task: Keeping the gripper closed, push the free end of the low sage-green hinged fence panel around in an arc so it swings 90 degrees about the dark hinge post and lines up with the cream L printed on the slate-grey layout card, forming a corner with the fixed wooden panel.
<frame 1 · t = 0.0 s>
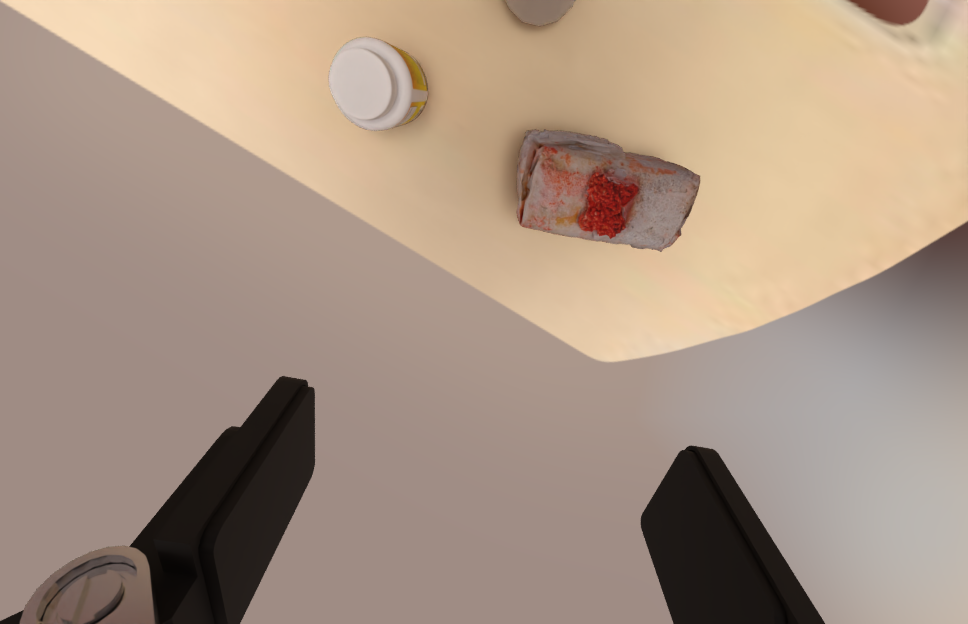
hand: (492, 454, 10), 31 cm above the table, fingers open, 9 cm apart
supplement bottle: (396, 88, 34), on the table
food item: (585, 180, 37), on the table
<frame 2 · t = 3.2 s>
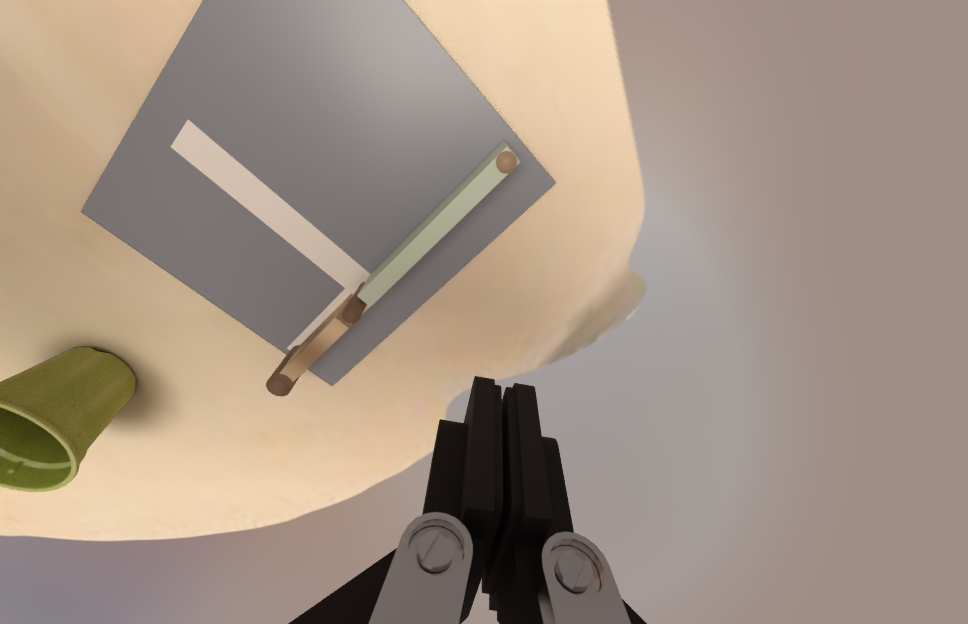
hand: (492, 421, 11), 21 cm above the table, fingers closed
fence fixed: (367, 287, 32), resting on layout card
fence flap: (434, 227, 27), point 3 cm above the table, hinge at 0.0°
plant pot: (104, 372, 36), on the table
layout card: (316, 196, 29), on the table
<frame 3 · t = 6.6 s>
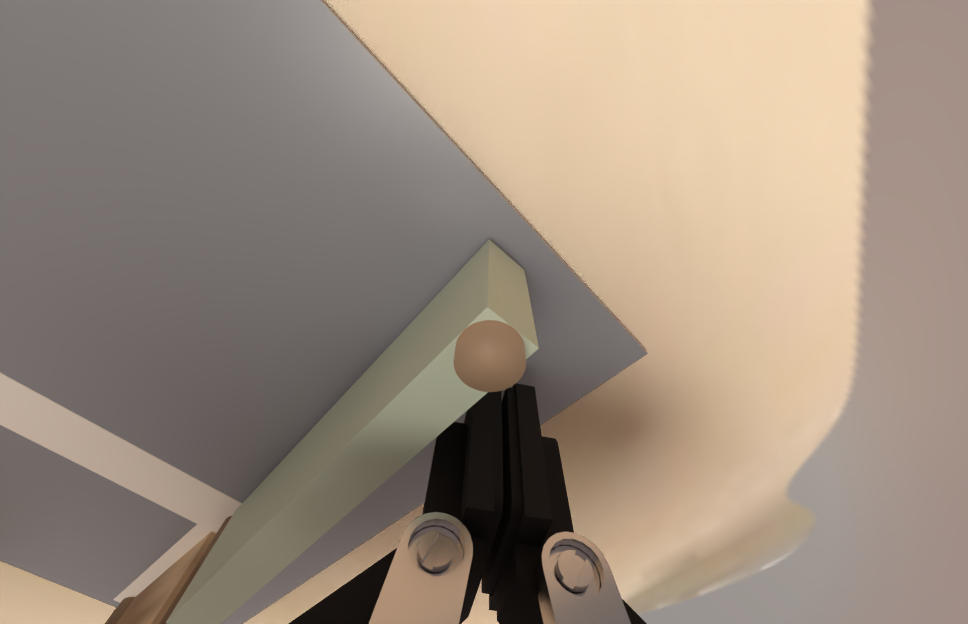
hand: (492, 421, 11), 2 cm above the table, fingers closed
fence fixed: (244, 517, 16), resting on layout card
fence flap: (329, 464, 11), point 3 cm above the table, hinge at 4.2°, touching gripper
layout card: (96, 372, 13), on the table
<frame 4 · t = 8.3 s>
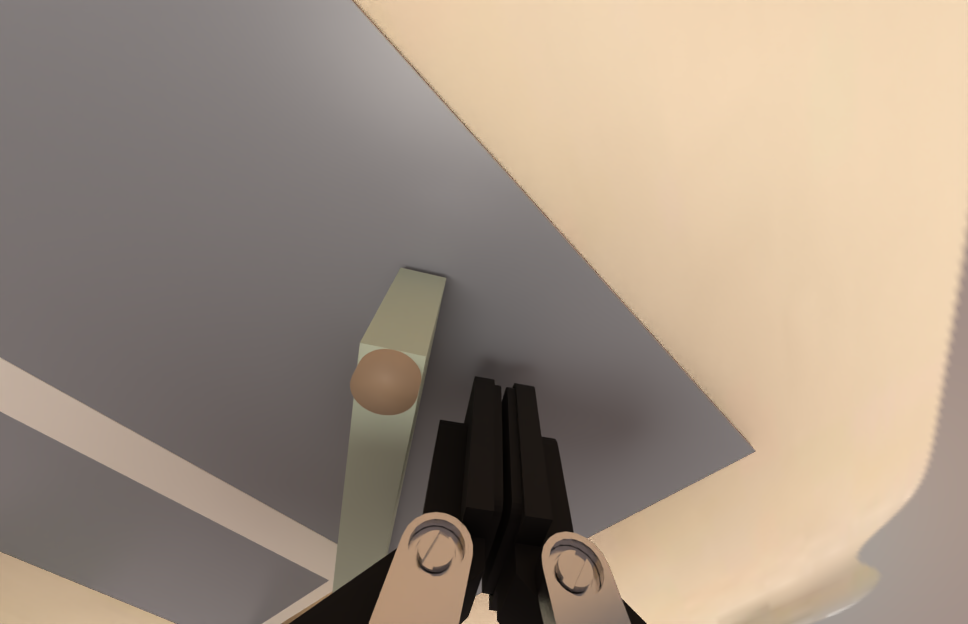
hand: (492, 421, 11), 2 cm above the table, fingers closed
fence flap: (374, 512, 12), point 3 cm above the table, hinge at 32.5°, touching gripper
layout card: (269, 460, 15), on the table
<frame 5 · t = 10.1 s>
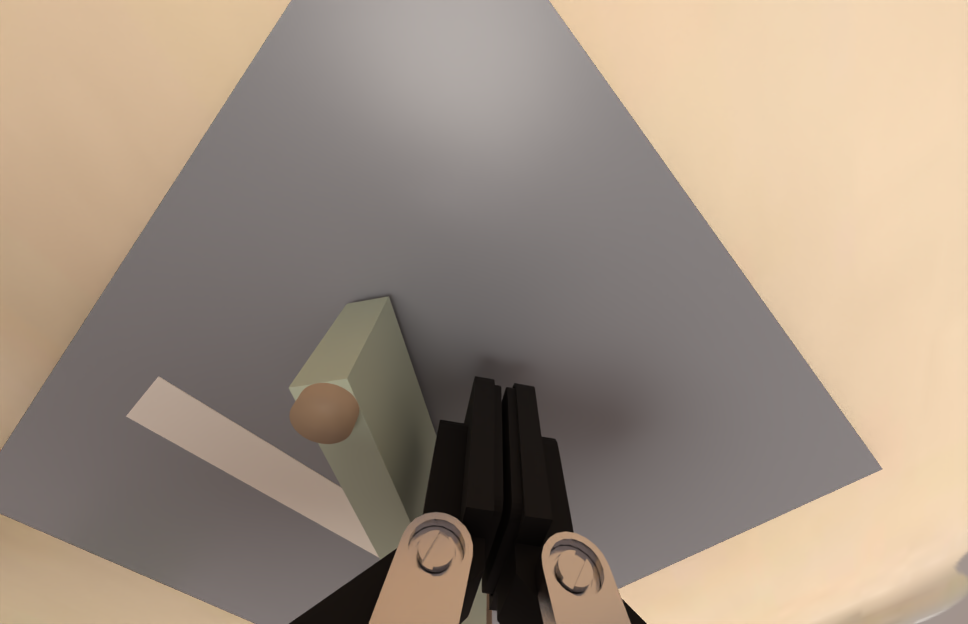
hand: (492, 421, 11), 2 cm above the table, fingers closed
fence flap: (424, 529, 12), point 3 cm above the table, hinge at 57.2°, touching gripper
layout card: (406, 478, 15), on the table
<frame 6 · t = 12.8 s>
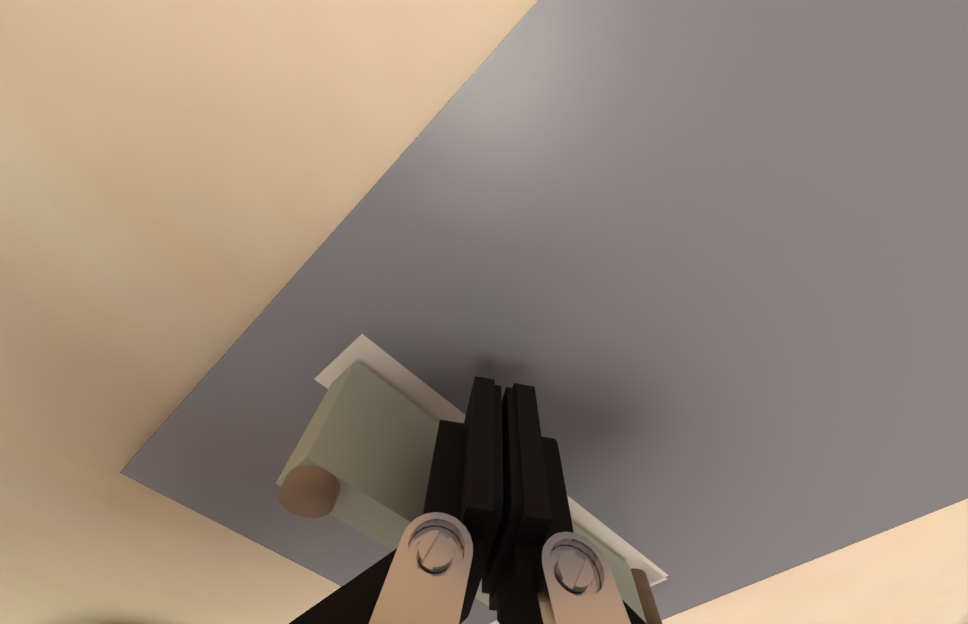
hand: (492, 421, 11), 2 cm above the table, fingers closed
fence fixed: (629, 568, 17), resting on layout card
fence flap: (504, 542, 12), point 3 cm above the table, hinge at 90.2°, touching gripper
layout card: (588, 450, 14), on the table
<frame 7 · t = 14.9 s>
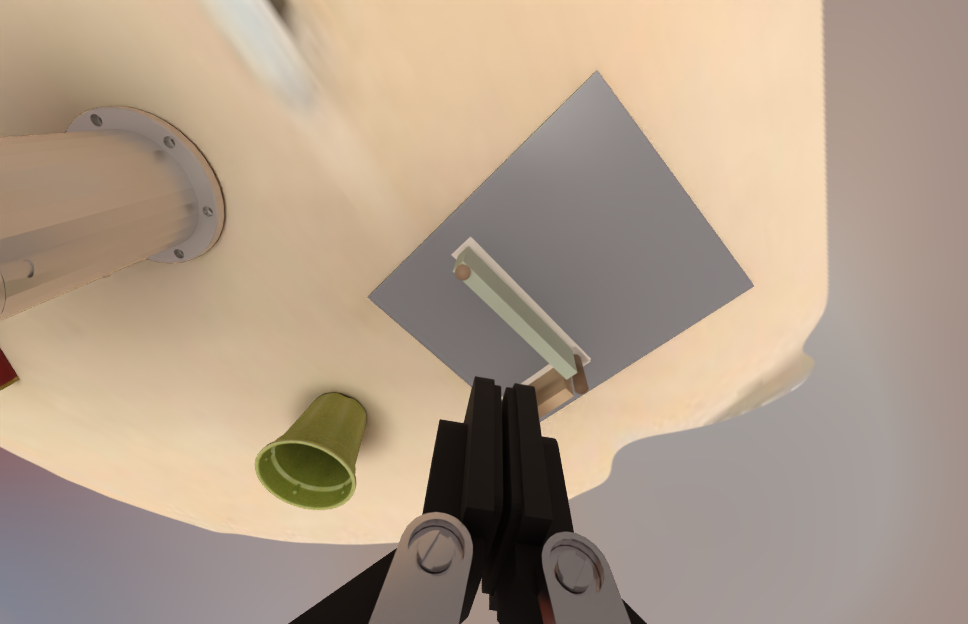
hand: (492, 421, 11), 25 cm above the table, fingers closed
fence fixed: (574, 357, 39), resting on layout card
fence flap: (518, 315, 34), point 3 cm above the table, hinge at 90.3°
plant pot: (341, 412, 45), on the table
layout card: (552, 290, 36), on the table
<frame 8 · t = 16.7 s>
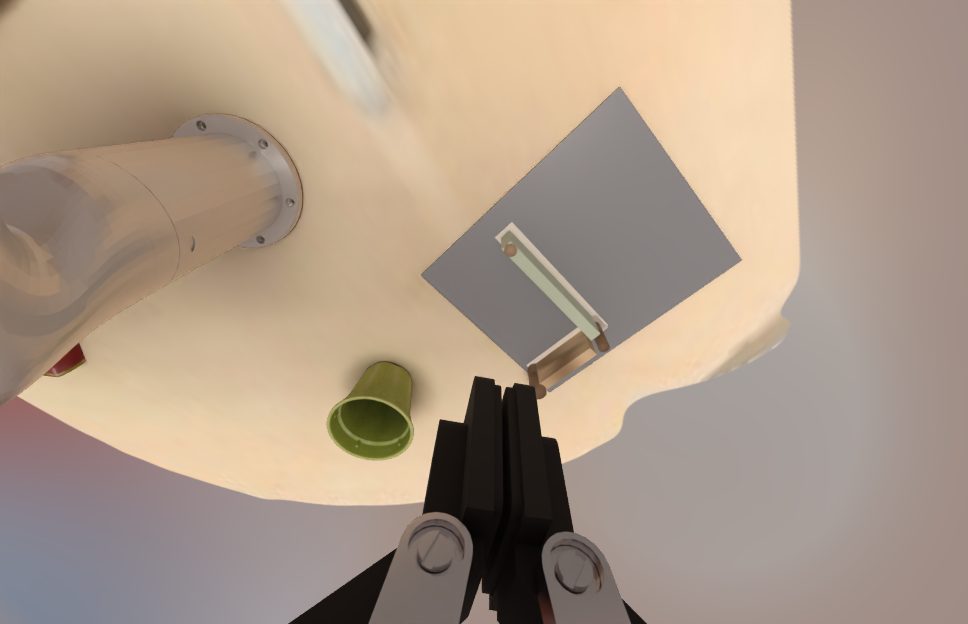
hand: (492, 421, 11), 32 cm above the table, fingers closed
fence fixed: (594, 324, 46), resting on layout card
hardcover book: (9, 276, 46), on the table
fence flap: (551, 287, 41), point 3 cm above the table, hinge at 90.3°
plant pot: (389, 380, 51), on the table
layout card: (577, 267, 43), on the table
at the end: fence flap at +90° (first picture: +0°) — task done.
